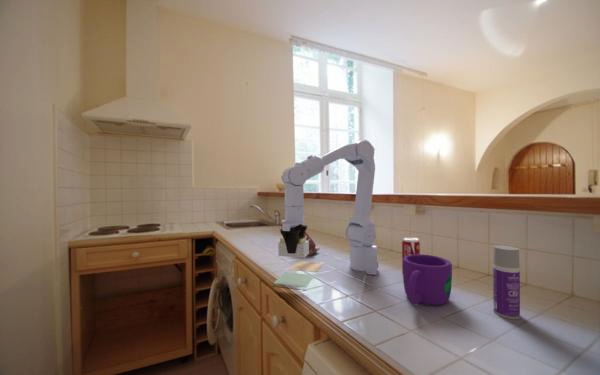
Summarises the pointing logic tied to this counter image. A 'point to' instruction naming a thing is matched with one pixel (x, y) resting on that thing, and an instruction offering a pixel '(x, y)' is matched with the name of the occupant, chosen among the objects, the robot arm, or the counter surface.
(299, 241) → the cover
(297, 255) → the base
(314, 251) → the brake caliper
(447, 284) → the mug
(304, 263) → the stand
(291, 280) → the stand
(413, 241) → the soda can
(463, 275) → the counter surface
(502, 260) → the container
